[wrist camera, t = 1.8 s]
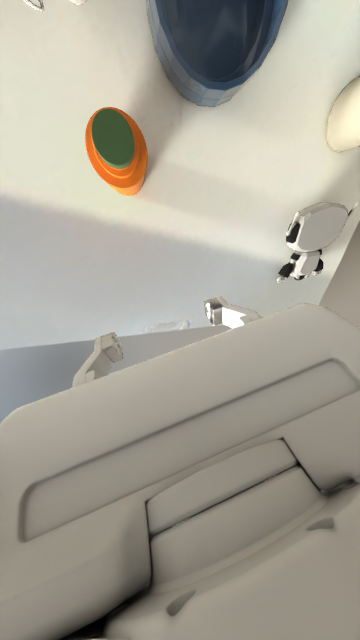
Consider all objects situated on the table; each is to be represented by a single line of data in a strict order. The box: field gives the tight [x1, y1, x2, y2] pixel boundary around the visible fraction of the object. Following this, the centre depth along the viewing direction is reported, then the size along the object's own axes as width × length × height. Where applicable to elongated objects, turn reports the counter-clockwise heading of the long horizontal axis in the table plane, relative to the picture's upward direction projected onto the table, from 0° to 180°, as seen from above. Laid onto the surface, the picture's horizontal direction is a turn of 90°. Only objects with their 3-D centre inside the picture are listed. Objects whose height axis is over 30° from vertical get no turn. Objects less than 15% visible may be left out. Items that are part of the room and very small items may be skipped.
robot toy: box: [276, 202, 358, 283], centre depth 36 cm, size 12×4×15 cm
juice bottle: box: [85, 107, 147, 196], centre depth 19 cm, size 6×6×14 cm
